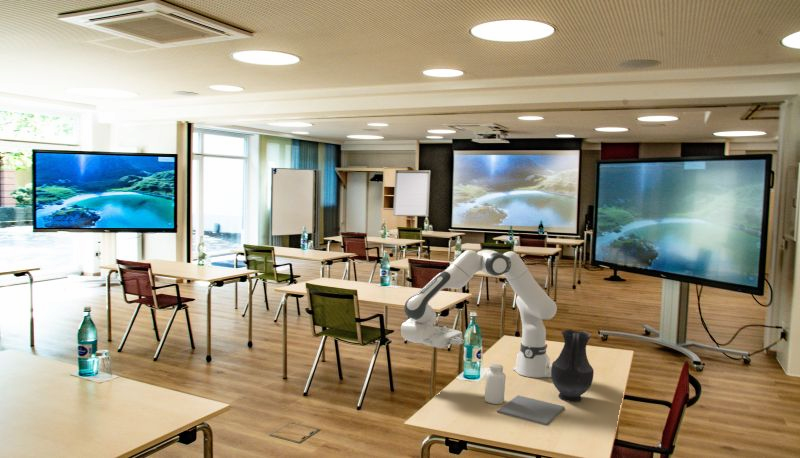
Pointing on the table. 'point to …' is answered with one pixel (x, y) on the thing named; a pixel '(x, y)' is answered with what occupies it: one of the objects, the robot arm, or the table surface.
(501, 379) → the pill bottle
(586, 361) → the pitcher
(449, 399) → the table surface
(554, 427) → the table surface
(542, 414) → the mat
